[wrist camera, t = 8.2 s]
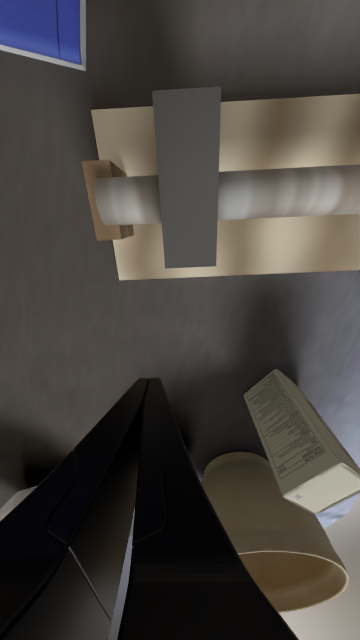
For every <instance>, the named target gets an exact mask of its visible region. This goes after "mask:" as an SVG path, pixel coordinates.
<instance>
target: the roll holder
mask: <svg viewBox="0 0 360 640" xmlns="http://www.w3.org/2000/svg"><path fill="white" fill-rule="evenodd" d="M91 113H92V119H93V125H94V131H95V137H96V143H97V149H98V155H99V160H93V161H82V166H83V171H84V176H85V182H86V187H87V192H88V197H89V202H90V207H91V212H92V217H93V222H94V227H95V233H96V238H97V241H99V240H113V245H114V251H115V257H116V263H117V269H118V275H119V280H136V279H159V278H183V277H207V276H230V275H254V274H277V273H301V272H324V271H348V270H360V94H348V95H331V96H314V97H298V98H281V99H264V100H248V101H231V102H221V114H220V150H219V185H218V221H217V257H216V266H213V267H190V268H167V269H165V262H164V248H163V234H162V220H161V207H160V193H159V179H158V166H157V152H156V138H155V125H154V111H153V106H148V107H131V108H115V109H98V110H91Z"/></svg>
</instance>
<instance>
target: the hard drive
mask: <svg viewBox="0 0 360 640" xmlns="http://www.w3.org/2000/svg"><path fill="white" fill-rule="evenodd" d="M0 50H3V51H7V52H11V53H15V54H19V55H23V56H27V57H31V58H35V59H39V60H43V61H47V62H51V63H55V64H59V65H63V66H67V67H71V68H75V69H79V70H83V71H86V0H0Z"/></svg>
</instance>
